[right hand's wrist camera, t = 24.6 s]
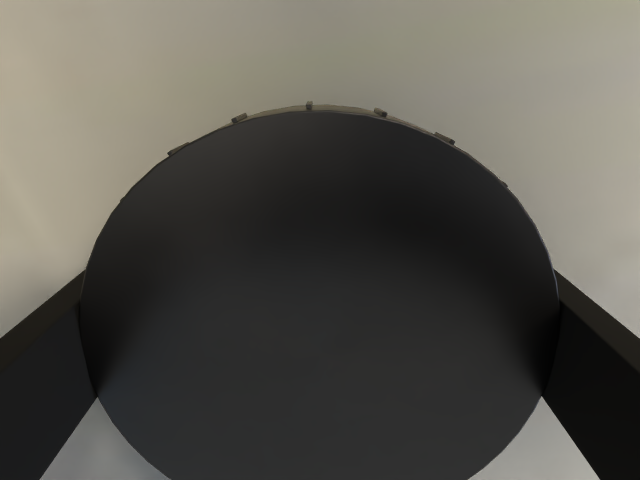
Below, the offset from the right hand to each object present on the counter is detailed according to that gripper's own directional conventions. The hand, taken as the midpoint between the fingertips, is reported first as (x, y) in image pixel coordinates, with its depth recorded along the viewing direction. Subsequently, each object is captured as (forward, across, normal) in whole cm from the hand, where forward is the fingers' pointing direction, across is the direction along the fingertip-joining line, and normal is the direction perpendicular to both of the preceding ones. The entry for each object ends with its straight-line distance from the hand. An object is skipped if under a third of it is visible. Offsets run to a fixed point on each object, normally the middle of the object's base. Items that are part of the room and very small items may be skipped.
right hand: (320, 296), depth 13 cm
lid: (-3, 0, 0) cm, 3 cm away
